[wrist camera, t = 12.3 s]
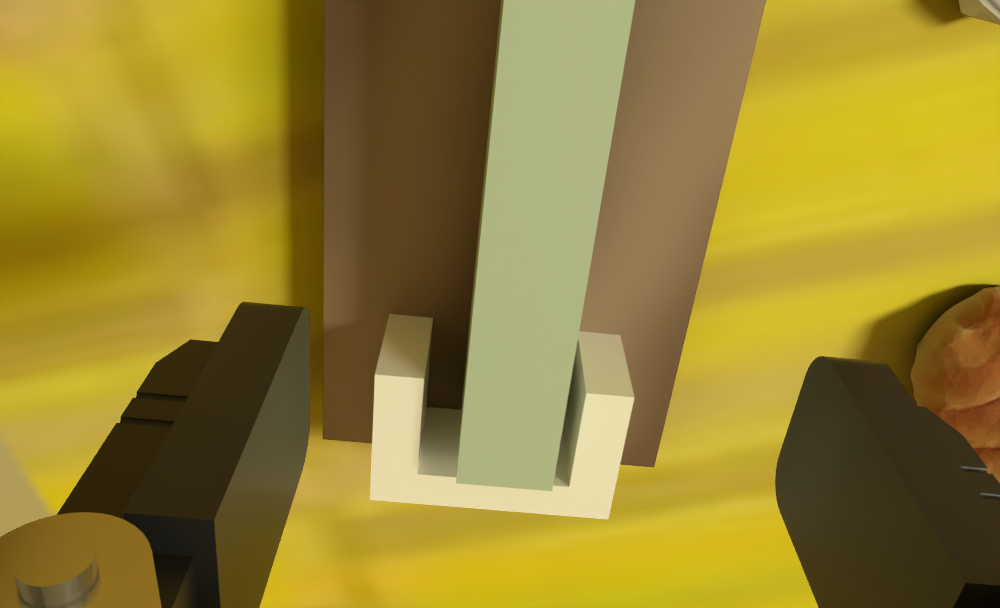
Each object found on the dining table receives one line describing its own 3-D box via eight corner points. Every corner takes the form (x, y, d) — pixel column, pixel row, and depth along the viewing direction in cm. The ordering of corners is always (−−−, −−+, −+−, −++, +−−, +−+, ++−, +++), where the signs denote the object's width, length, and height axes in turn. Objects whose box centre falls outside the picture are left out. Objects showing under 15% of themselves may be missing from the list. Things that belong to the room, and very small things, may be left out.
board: (331, 409, 27) (322, 439, 26) (340, -459, 17) (326, -483, 16) (646, 436, 28) (653, 467, 26) (837, -393, 17) (864, -413, 16)
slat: (462, 391, 25) (455, 483, 21) (528, -270, 17) (533, -296, 14) (545, 398, 25) (551, 491, 21) (646, -256, 17) (682, -278, 14)
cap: (384, 430, 26) (370, 499, 23) (389, 313, 24) (375, 374, 21) (597, 448, 26) (608, 519, 23) (620, 335, 24) (634, 397, 21)
